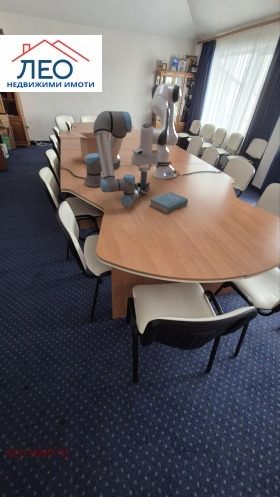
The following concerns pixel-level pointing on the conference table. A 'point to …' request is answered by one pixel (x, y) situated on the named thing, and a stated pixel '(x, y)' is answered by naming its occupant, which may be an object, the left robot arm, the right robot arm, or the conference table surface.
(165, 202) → the book
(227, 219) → the conference table surface
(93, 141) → the box
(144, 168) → the lid
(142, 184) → the dark grey cylinder
